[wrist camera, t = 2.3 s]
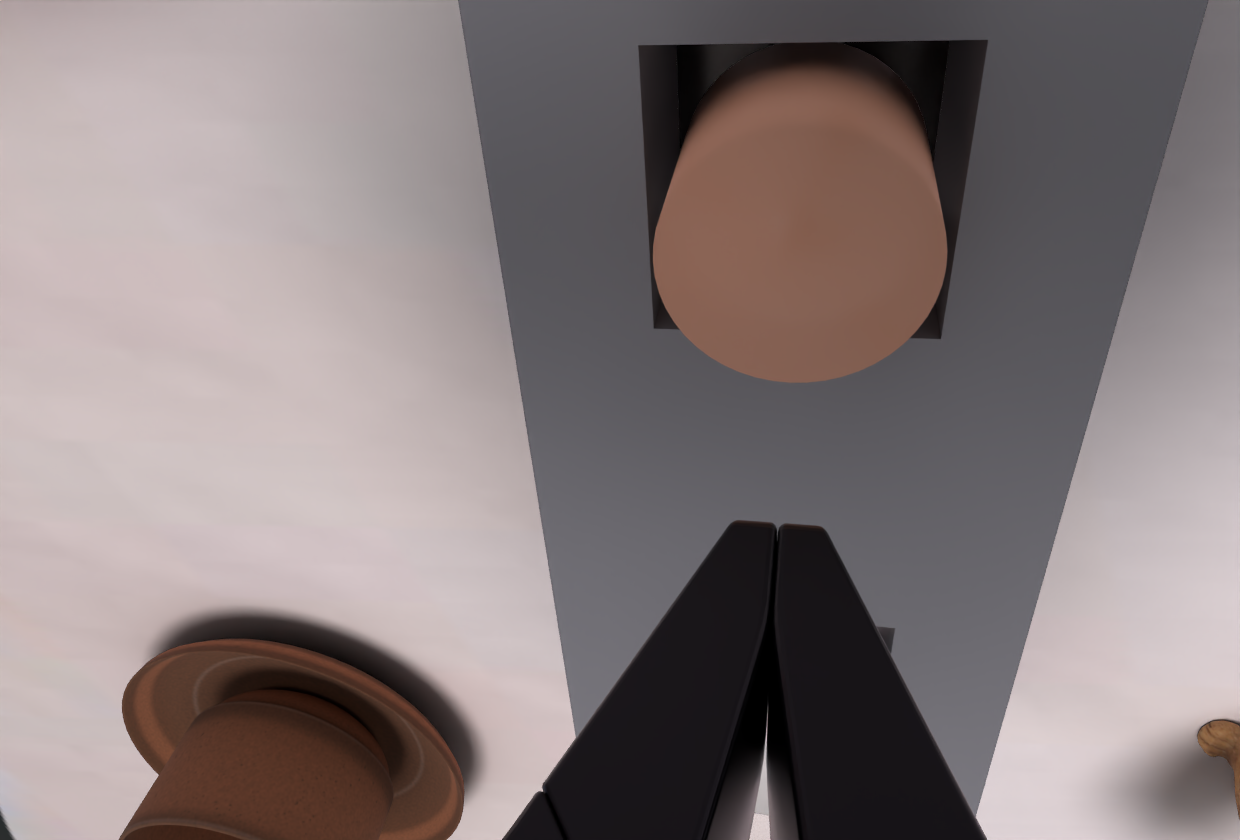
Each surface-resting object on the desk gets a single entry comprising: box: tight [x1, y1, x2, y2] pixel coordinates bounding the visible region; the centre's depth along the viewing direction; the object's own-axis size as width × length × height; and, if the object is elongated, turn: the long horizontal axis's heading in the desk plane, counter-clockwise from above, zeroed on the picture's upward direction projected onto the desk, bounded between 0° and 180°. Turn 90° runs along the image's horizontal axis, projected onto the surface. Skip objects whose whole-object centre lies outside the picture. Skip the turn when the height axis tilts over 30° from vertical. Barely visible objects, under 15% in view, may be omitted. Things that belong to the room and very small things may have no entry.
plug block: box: [458, 0, 1208, 817], centre depth 20 cm, size 10×21×4 cm, turn 4°
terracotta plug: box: [653, 42, 947, 383], centre depth 15 cm, size 4×4×4 cm
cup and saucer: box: [119, 639, 464, 840], centre depth 32 cm, size 12×12×6 cm
